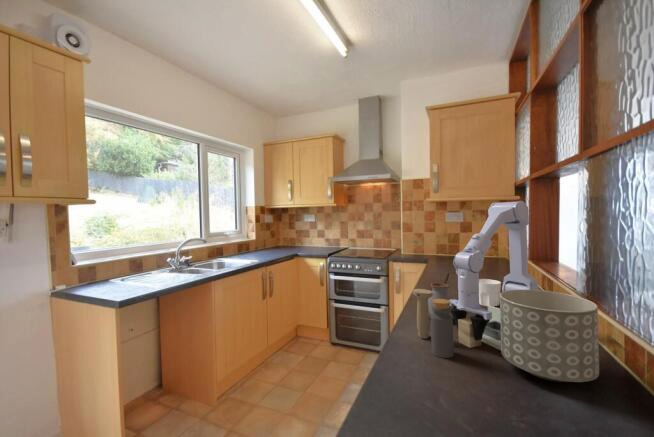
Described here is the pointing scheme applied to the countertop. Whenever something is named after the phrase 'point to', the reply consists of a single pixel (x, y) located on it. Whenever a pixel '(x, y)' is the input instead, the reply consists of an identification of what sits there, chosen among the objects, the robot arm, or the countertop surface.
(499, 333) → the grey square frame
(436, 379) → the countertop surface
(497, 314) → the mounting board
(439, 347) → the bottle
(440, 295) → the coffee pot
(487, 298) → the cup
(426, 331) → the handle
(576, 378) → the planter
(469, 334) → the oak post
